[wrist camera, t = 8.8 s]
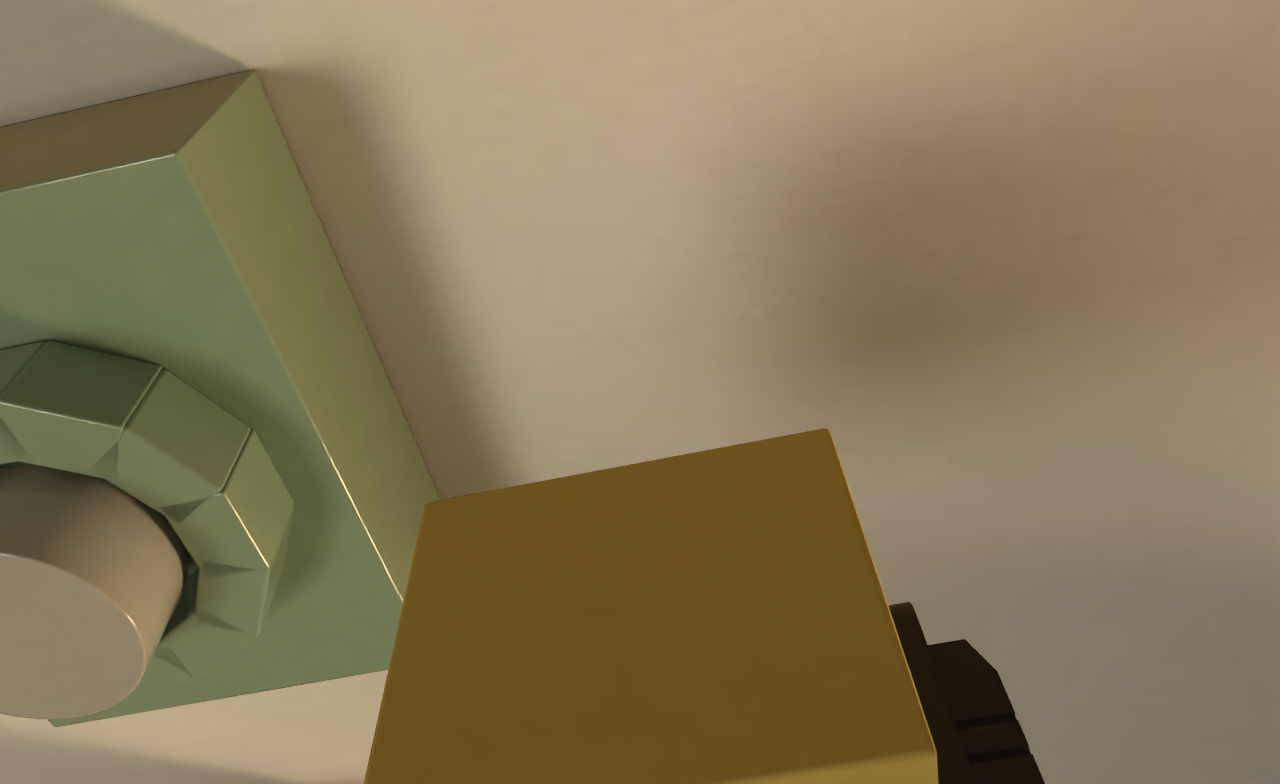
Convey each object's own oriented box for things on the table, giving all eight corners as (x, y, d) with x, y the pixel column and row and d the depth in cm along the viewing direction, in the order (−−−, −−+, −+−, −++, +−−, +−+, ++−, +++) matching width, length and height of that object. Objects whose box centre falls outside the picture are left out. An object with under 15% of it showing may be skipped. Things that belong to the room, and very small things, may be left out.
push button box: (-185, 168, 19) (-459, 329, 14) (255, 67, 18) (129, 199, 13) (126, 592, 26) (15, 801, 21) (455, 531, 25) (422, 733, 20)
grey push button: (-105, 488, 16) (-185, 577, 15) (118, 443, 16) (63, 529, 14) (28, 643, 19) (-28, 736, 17) (227, 607, 18) (189, 699, 17)
